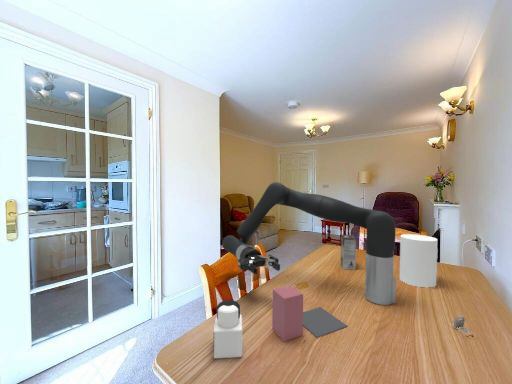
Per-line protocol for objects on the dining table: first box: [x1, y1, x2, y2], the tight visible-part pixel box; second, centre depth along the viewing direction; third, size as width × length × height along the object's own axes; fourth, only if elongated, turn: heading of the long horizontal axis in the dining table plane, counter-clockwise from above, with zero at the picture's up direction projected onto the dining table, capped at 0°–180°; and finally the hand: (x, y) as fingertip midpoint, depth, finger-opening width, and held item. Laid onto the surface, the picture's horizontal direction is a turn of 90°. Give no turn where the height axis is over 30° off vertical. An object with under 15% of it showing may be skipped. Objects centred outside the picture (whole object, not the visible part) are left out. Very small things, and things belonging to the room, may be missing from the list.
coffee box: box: [340, 234, 357, 271], centre depth 123 cm, size 9×6×16 cm
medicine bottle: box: [213, 299, 243, 359], centre depth 61 cm, size 7×7×12 cm
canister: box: [399, 233, 438, 289], centre depth 104 cm, size 14×14×20 cm
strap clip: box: [453, 315, 474, 334], centre depth 70 cm, size 8×3×4 cm, turn 6°
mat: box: [303, 306, 348, 339], centre depth 74 cm, size 12×12×1 cm
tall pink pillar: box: [271, 284, 304, 342], centre depth 68 cm, size 6×6×12 cm
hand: (268, 269), depth 78 cm, fingers open, 8 cm apart
